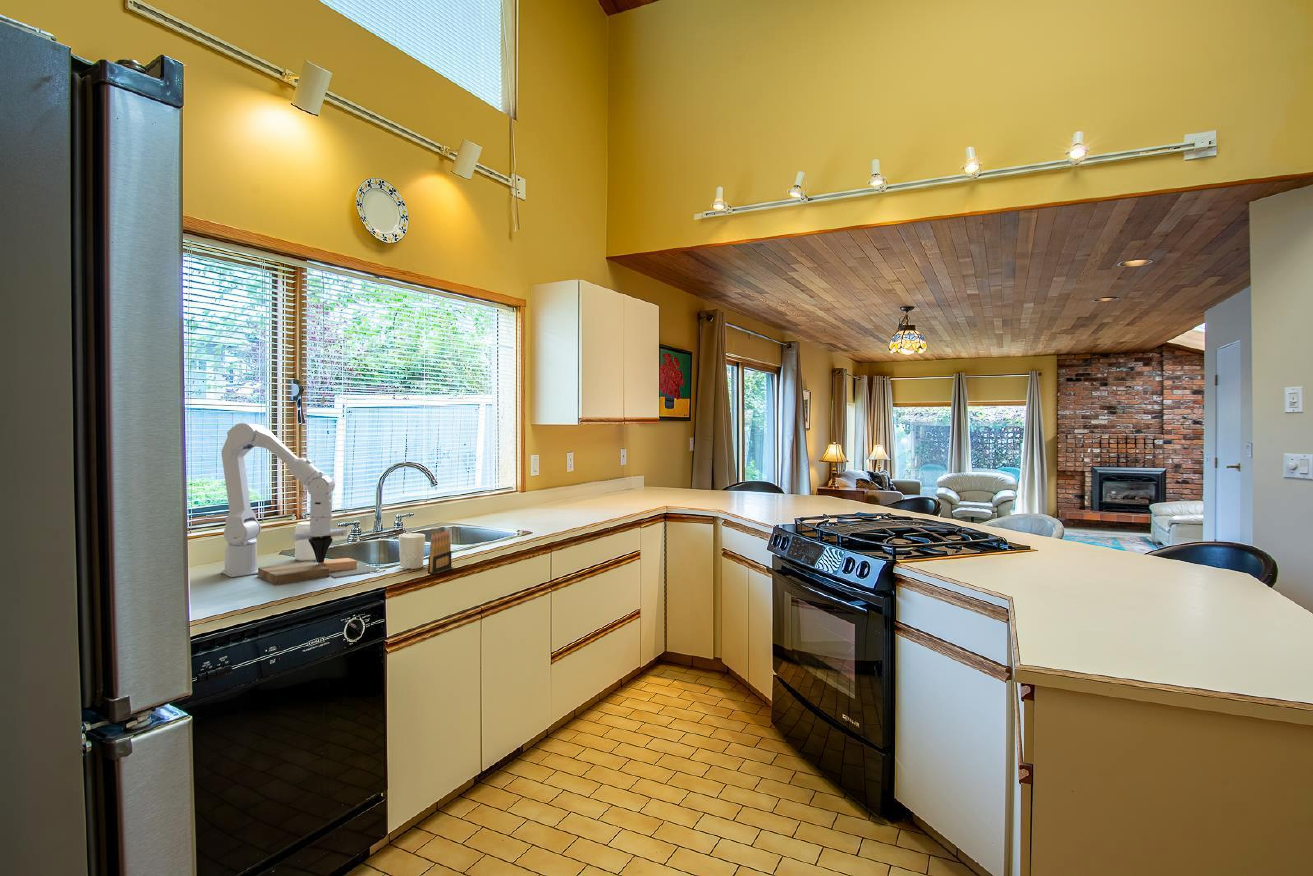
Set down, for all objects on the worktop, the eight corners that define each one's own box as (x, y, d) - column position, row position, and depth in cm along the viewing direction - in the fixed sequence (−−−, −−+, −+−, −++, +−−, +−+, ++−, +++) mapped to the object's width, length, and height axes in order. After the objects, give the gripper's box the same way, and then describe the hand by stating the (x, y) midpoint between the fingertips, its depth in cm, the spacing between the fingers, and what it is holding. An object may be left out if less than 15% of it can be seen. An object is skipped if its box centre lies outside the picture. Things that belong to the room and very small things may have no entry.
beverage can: (303, 562, 209) (304, 525, 209) (289, 559, 214) (290, 522, 213) (327, 559, 216) (328, 522, 216) (314, 555, 220) (314, 520, 220)
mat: (309, 568, 201) (309, 567, 201) (358, 562, 212) (358, 560, 212) (334, 578, 189) (334, 577, 189) (385, 570, 200) (385, 569, 200)
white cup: (398, 570, 201) (399, 537, 201) (397, 565, 208) (398, 534, 208) (425, 568, 205) (426, 536, 204) (423, 563, 212) (424, 532, 212)
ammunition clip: (433, 573, 197) (434, 534, 197) (427, 573, 198) (428, 533, 198) (451, 566, 208) (452, 529, 208) (446, 566, 208) (447, 528, 208)
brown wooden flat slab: (258, 576, 189) (258, 567, 189) (309, 569, 200) (309, 561, 200) (275, 584, 180) (276, 575, 180) (328, 576, 190) (328, 568, 190)
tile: (317, 568, 198) (318, 560, 198) (348, 565, 204) (348, 557, 205) (326, 571, 194) (326, 563, 194) (356, 568, 201) (357, 560, 201)
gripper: (300, 520, 187) (299, 567, 187) (351, 515, 198) (350, 560, 198) (290, 517, 192) (289, 563, 192) (341, 513, 203) (340, 557, 203)
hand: (320, 562), depth 195 cm, fingers closed
